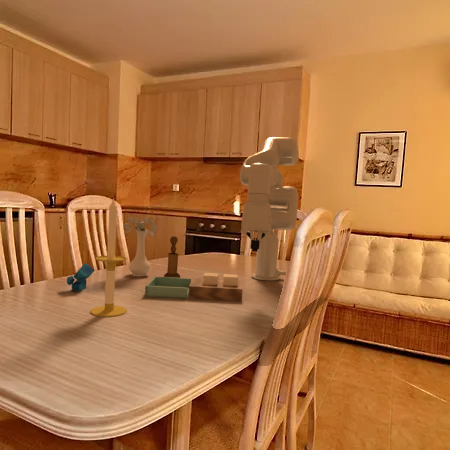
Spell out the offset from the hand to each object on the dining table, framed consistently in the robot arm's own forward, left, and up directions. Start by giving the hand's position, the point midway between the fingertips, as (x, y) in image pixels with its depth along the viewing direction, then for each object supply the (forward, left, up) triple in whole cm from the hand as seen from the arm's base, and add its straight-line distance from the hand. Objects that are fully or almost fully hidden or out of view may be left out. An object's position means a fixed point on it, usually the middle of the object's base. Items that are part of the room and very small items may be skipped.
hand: (254, 251), depth 129 cm
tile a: (+8, 0, -12) cm, 15 cm away
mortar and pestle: (+31, -18, -17) cm, 40 cm away
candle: (+43, +26, -17) cm, 53 cm away
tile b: (+15, 0, -12) cm, 19 cm away
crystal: (+60, +3, -17) cm, 62 cm away
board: (+13, 0, -16) cm, 21 cm away
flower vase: (+46, -26, -17) cm, 55 cm away
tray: (+29, 0, -16) cm, 34 cm away
